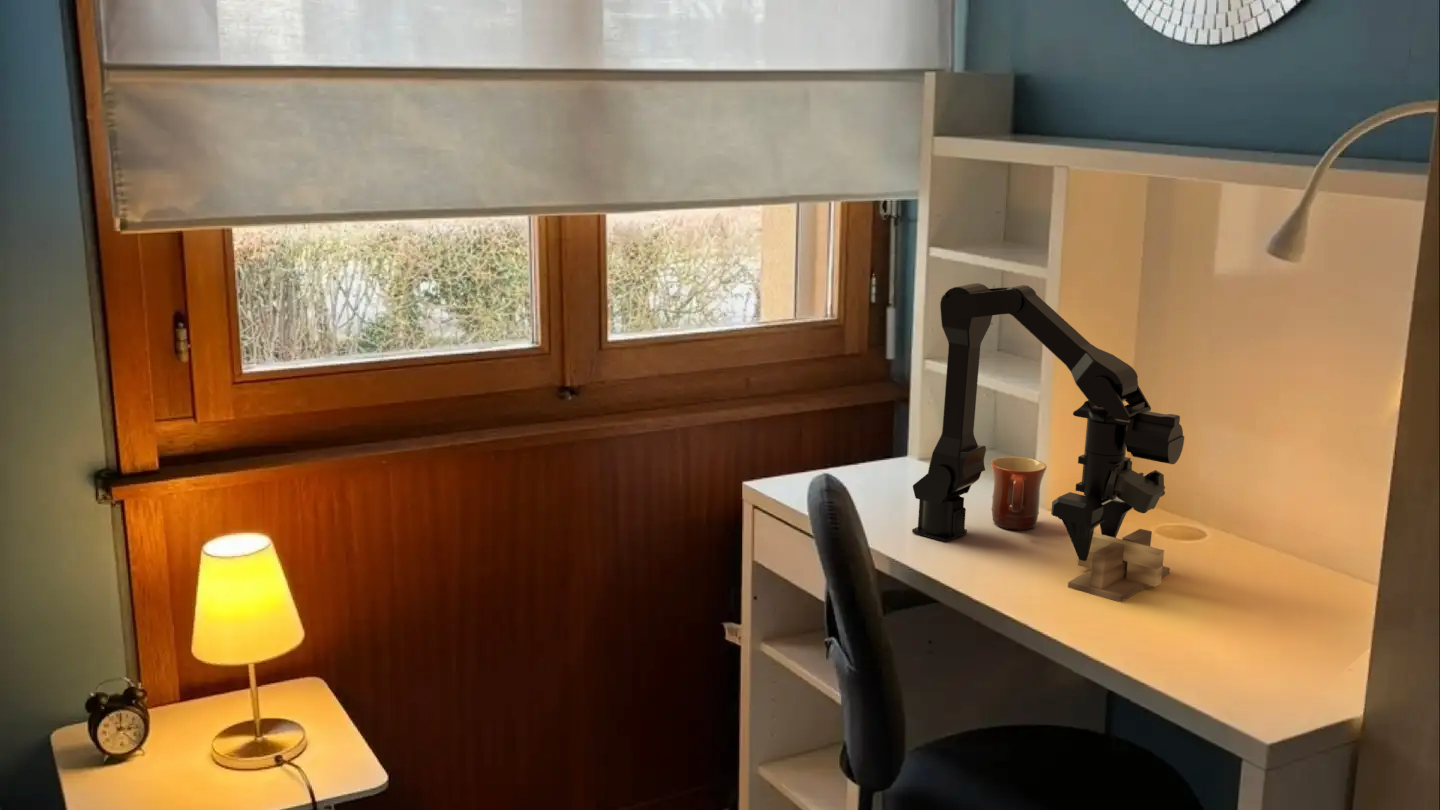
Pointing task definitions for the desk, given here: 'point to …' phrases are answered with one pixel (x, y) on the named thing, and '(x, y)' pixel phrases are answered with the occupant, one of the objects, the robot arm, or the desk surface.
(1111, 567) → the joint base
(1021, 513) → the mug
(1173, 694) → the desk surface
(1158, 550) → the oak plate
